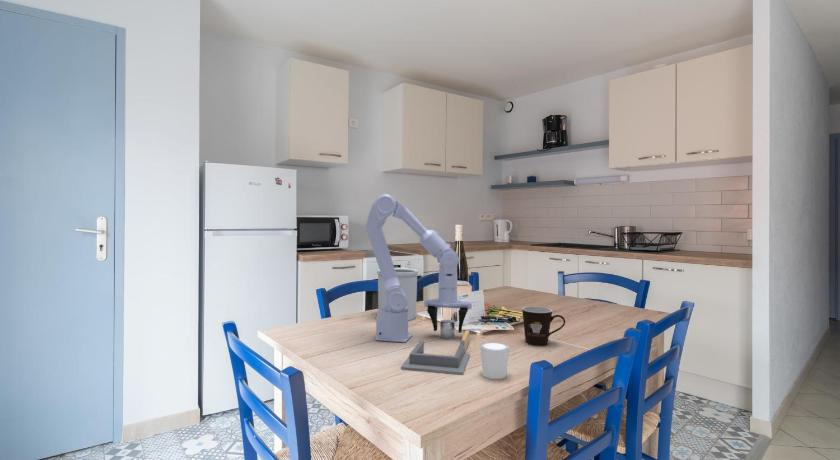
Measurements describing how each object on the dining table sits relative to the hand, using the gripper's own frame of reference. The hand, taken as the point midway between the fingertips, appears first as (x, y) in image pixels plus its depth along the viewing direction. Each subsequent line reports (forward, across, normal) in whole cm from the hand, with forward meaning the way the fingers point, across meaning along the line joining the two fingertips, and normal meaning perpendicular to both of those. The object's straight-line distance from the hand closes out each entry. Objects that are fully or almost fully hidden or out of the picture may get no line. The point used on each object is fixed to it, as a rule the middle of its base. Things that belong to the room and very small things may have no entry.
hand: (447, 330), depth 135 cm
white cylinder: (+2, +16, -28) cm, 32 cm away
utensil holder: (+2, -22, +21) cm, 31 cm away
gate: (+2, +6, -9) cm, 12 cm away
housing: (+2, +1, -23) cm, 23 cm away
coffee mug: (+2, +28, 0) cm, 28 cm away
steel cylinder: (+2, 0, 0) cm, 2 cm away
